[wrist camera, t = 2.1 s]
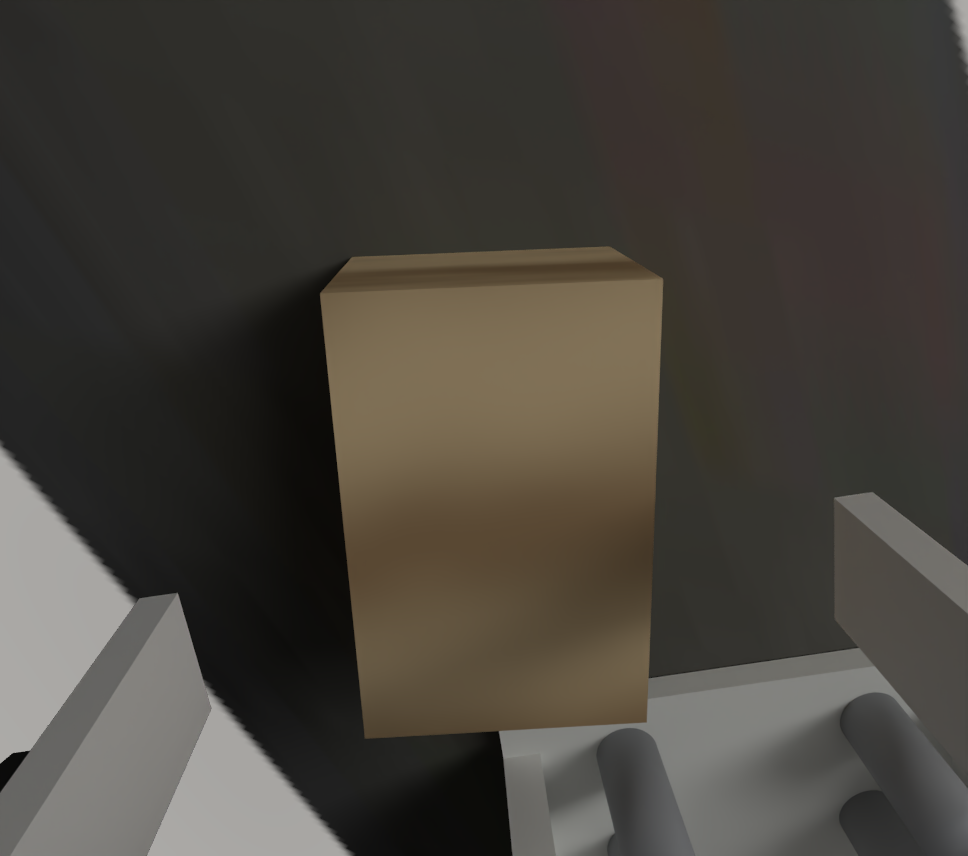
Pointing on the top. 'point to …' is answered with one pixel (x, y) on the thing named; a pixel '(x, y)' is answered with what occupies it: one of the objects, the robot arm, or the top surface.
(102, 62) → the top surface
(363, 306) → the wooden block
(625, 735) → the peg stand
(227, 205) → the top surface
